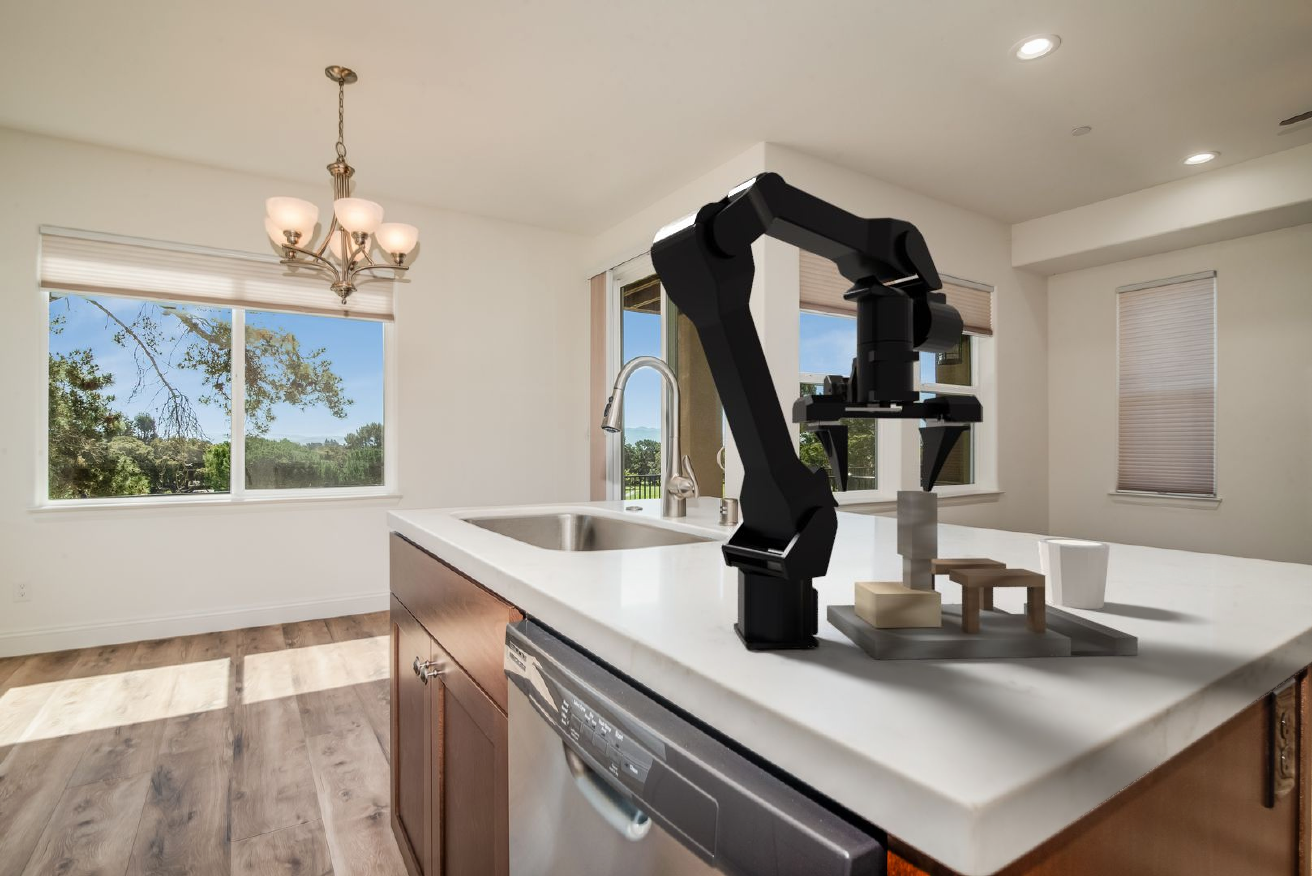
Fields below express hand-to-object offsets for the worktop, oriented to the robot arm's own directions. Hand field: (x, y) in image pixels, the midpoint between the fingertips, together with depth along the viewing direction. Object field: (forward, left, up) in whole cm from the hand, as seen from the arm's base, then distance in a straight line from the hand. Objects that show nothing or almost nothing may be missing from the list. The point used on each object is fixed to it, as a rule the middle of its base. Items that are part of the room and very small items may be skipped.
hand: (885, 491), depth 67 cm
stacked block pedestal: (-2, -8, -11) cm, 14 cm away
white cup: (+24, +4, -13) cm, 28 cm away
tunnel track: (+4, -8, -13) cm, 16 cm away
